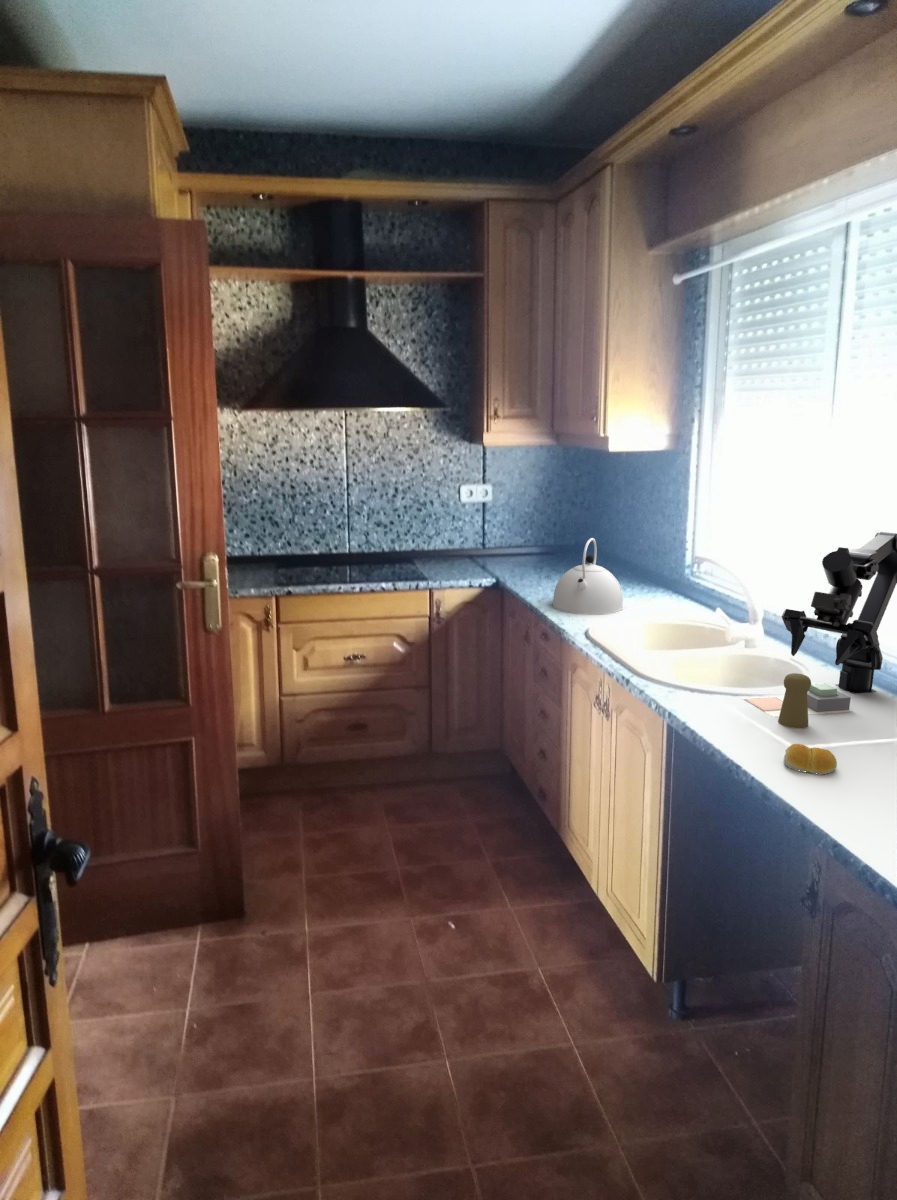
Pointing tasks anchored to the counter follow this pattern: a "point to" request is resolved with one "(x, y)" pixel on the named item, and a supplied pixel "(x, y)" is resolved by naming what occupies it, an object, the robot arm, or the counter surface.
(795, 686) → the cork
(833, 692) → the button
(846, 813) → the counter surface
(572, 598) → the kettle
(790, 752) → the bread roll
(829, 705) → the picture board
